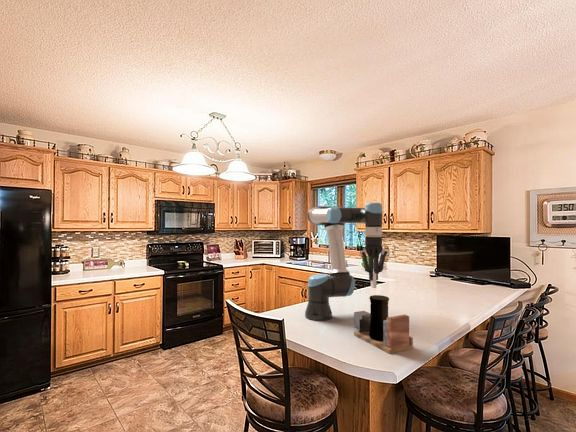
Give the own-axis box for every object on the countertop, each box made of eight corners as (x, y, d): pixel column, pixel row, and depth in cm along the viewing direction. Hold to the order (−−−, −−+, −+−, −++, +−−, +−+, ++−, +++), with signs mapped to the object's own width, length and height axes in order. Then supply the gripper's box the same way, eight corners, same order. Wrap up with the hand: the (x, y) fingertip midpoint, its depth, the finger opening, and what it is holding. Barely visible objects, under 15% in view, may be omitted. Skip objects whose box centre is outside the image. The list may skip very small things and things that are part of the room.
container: (385, 333, 143) (385, 294, 143) (393, 341, 134) (392, 299, 134) (366, 333, 143) (366, 294, 143) (372, 341, 134) (372, 299, 134)
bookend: (350, 328, 150) (350, 312, 150) (367, 325, 154) (366, 310, 154) (359, 332, 144) (359, 316, 144) (376, 329, 148) (376, 313, 148)
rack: (353, 335, 145) (353, 306, 145) (375, 331, 151) (375, 303, 151) (389, 353, 124) (389, 320, 125) (412, 348, 130) (412, 316, 130)
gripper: (364, 236, 138) (363, 289, 137) (390, 236, 140) (390, 288, 140) (357, 235, 145) (356, 286, 145) (382, 235, 147) (382, 285, 147)
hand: (373, 287), depth 142 cm, fingers closed
